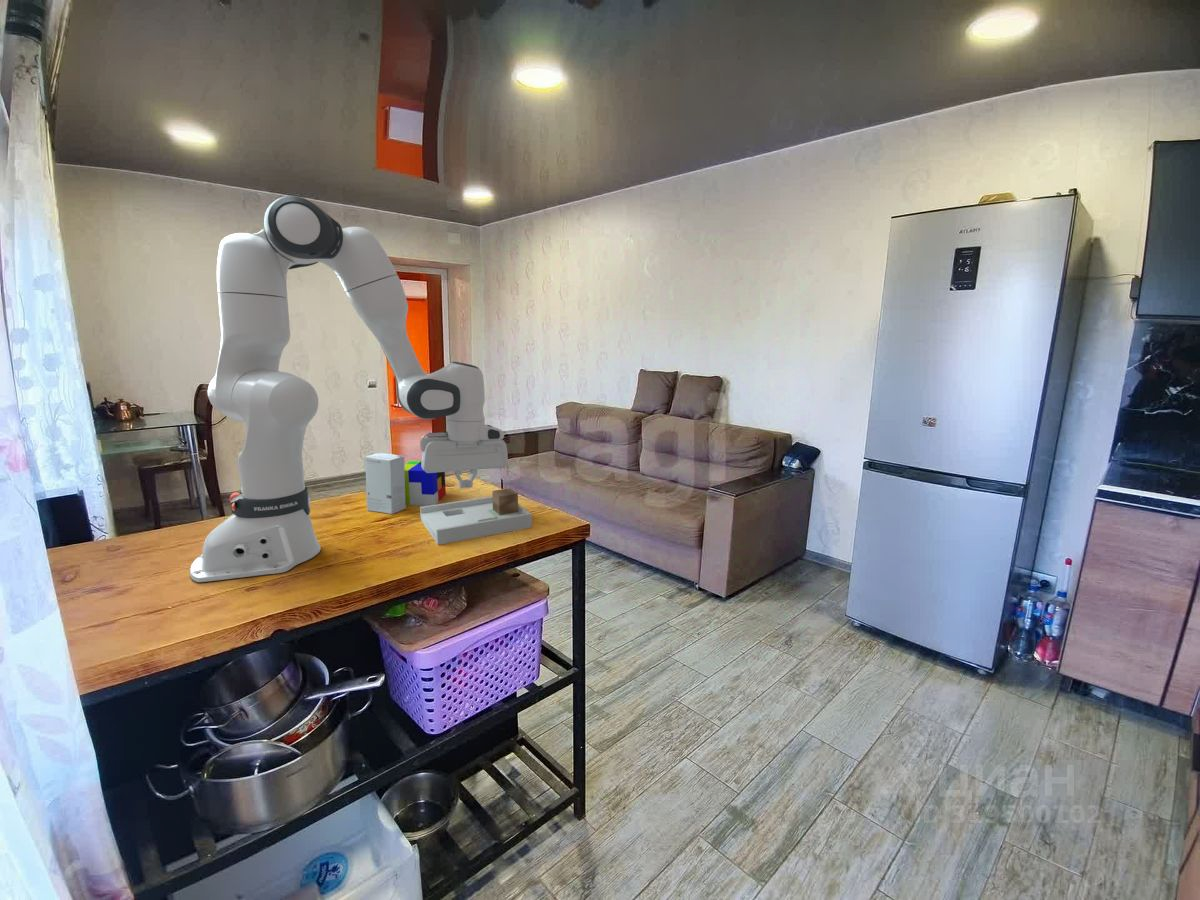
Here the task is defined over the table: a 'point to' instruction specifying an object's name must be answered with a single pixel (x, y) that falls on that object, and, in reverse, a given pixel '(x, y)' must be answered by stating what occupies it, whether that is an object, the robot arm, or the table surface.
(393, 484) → the skincare box
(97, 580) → the table surface
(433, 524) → the platform
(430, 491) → the puzzle toy
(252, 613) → the table surface
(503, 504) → the walnut block
